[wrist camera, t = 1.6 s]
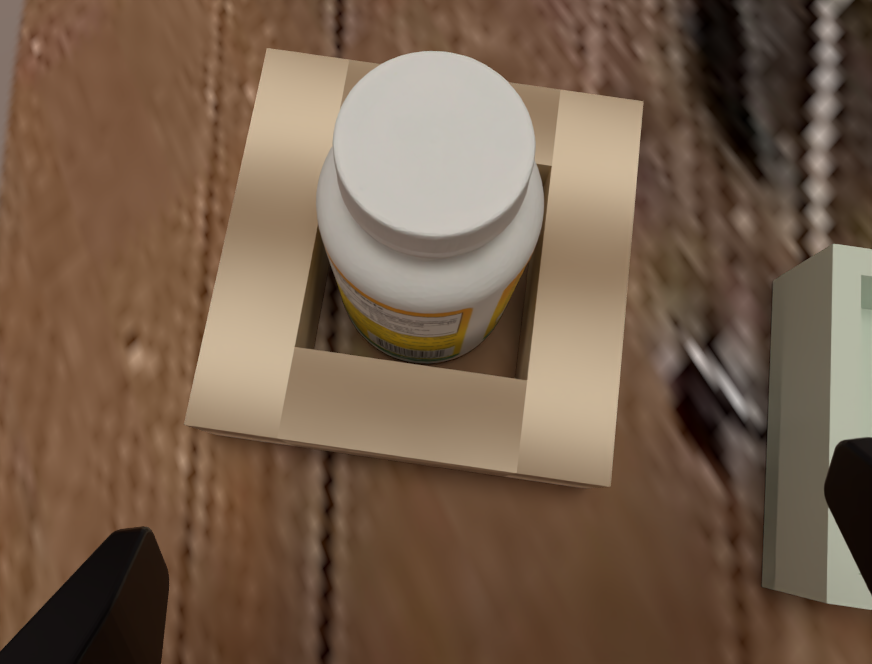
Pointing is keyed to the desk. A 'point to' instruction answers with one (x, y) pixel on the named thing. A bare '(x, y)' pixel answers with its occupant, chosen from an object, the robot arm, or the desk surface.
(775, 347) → the tray
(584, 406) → the socket block
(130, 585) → the robot arm
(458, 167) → the supplement bottle
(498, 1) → the desk surface
